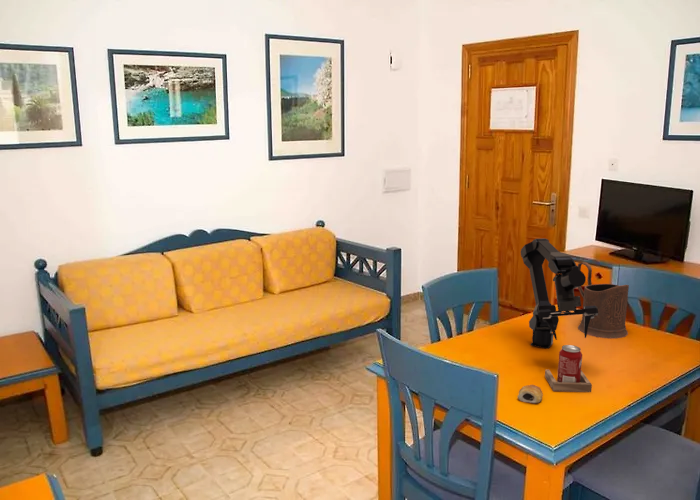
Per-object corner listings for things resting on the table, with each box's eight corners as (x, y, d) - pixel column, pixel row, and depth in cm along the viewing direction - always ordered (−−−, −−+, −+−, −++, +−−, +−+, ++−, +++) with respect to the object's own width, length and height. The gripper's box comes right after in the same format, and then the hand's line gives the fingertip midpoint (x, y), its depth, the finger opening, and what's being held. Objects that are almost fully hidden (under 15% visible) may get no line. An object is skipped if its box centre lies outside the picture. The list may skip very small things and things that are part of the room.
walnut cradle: (544, 376, 199) (545, 369, 198) (580, 377, 198) (581, 370, 197) (553, 391, 188) (553, 383, 188) (591, 392, 187) (591, 384, 187)
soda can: (576, 390, 189) (579, 353, 186) (554, 384, 193) (557, 349, 190) (582, 382, 194) (585, 347, 192) (560, 377, 198) (563, 342, 195)
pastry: (523, 389, 190) (524, 377, 189) (546, 393, 187) (547, 382, 186) (516, 401, 182) (517, 389, 181) (539, 406, 179) (540, 394, 178)
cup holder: (603, 341, 230) (609, 277, 224) (557, 322, 251) (561, 263, 246) (638, 334, 237) (645, 271, 232) (590, 316, 259) (595, 258, 253)
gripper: (535, 291, 201) (540, 338, 197) (595, 285, 195) (602, 334, 192) (536, 295, 211) (541, 341, 208) (594, 290, 206) (600, 337, 202)
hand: (570, 338), depth 202 cm, fingers open, 9 cm apart
